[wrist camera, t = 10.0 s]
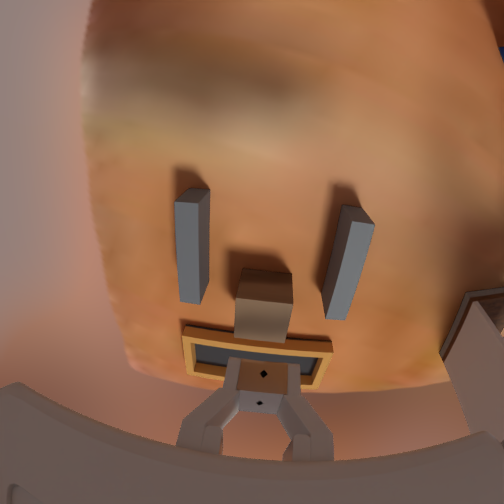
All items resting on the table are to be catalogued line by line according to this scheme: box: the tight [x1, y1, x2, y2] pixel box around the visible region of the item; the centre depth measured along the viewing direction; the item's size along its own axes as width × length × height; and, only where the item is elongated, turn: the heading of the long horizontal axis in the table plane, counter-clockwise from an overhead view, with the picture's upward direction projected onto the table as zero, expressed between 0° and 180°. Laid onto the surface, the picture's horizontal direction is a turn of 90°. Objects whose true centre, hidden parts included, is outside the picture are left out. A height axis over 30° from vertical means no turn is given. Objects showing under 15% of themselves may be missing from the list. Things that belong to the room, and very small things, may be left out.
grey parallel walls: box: [174, 188, 375, 320], centre depth 25 cm, size 10×16×4 cm, turn 85°
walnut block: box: [234, 268, 293, 343], centre depth 27 cm, size 5×5×5 cm
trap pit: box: [182, 324, 333, 389], centre depth 34 cm, size 8×18×2 cm, turn 86°
